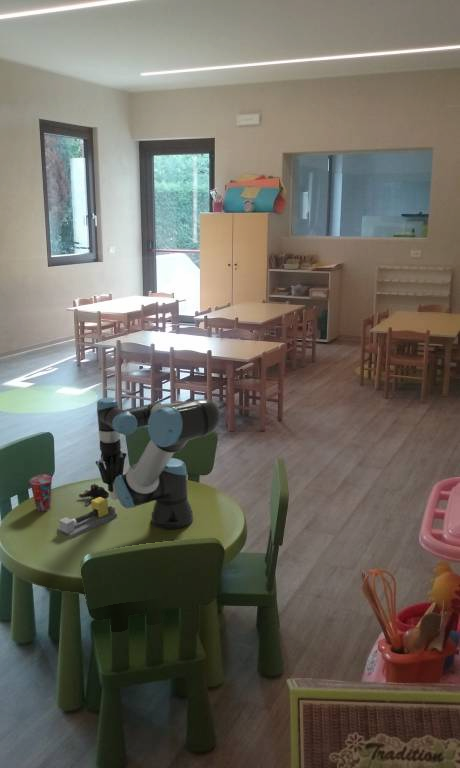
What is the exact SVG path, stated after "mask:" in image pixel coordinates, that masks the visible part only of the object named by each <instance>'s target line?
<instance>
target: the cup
mask: <svg viewBox="0 0 460 768" xmlns="http://www.w3.org/2000/svg"><path fill="white" fill-rule="evenodd" d="M52 480H53V476H51V475H49V474H46V473H42V474H38V475H35V476H33V477H31V478H30V479H29V480H28V482H29V484H30V487H31V491H32V497H33V499H34V503H35V507H36V510H37V511H38V512H45V511H48V510H50V509H51V507H52V504H51V502H52Z"/></svg>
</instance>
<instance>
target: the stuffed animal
mask: <svg viewBox="0 0 460 768" xmlns="http://www.w3.org/2000/svg"><path fill="white" fill-rule="evenodd" d="M78 497H79V498H82V499H84V498H87V500H89V501H88V502H87V503H85V505H84V506H85V507H88V506H90V505H92V503H91V500H94V499H96V498H98V497H102V498H104V499H106V500H107V498H110V492H109V491H108V490H105V488H104V487H103V486H99V485H98V484H96V483H92V484H91V485H90V490H88V489H85V490H84V492H83V493H79V494H78ZM89 497H91V498H89Z"/></svg>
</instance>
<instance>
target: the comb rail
mask: <svg viewBox="0 0 460 768" xmlns="http://www.w3.org/2000/svg"><path fill="white" fill-rule="evenodd" d="M108 513H109V514H107V515H104V516H102V517H98V510H94V511H92V510H91V511H90V512H87V513H85V514H83V515H81V516H79V517H76V518H69V517H67V516H65V517H63V518H60V519H58V524H59V525H58V526H59V527H57V528H56V532H58V533H60V534H61V535H64V536H65V537H67V538H70V539H72V538H74V537H76V536H78V535H81V534H83V533H84V532H87V531H89V530H91V529H94V528H96V527H98V526H99V525H102V524H104V523H106V522H109V521H111V520H113V519H115V518H117V517H118V513H116V507H114V506H112V505H110V506H108Z"/></svg>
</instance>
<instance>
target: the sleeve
mask: <svg viewBox="0 0 460 768" xmlns="http://www.w3.org/2000/svg"><path fill="white" fill-rule="evenodd" d="M90 500H91V499H90ZM108 507H109V503H108V499H107V498H106V499H104V498H102V497H98V498H96V499H94V500H91V512H92V511H94V510H98V517H102V516H104V515H107V514H109V513H108Z"/></svg>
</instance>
